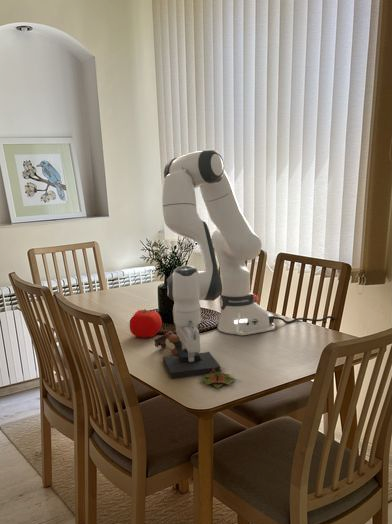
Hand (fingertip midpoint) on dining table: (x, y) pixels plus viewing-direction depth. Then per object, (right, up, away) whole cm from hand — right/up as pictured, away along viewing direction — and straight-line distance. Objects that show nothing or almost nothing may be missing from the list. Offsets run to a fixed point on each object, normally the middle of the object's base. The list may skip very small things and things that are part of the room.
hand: (188, 357), depth 182 cm
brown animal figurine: (-6, +2, +12) cm, 14 cm away
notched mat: (+1, -3, -2) cm, 4 cm away
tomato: (-16, +8, +29) cm, 34 cm away
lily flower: (+9, -8, -14) cm, 18 cm away
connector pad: (0, -2, +1) cm, 2 cm away
